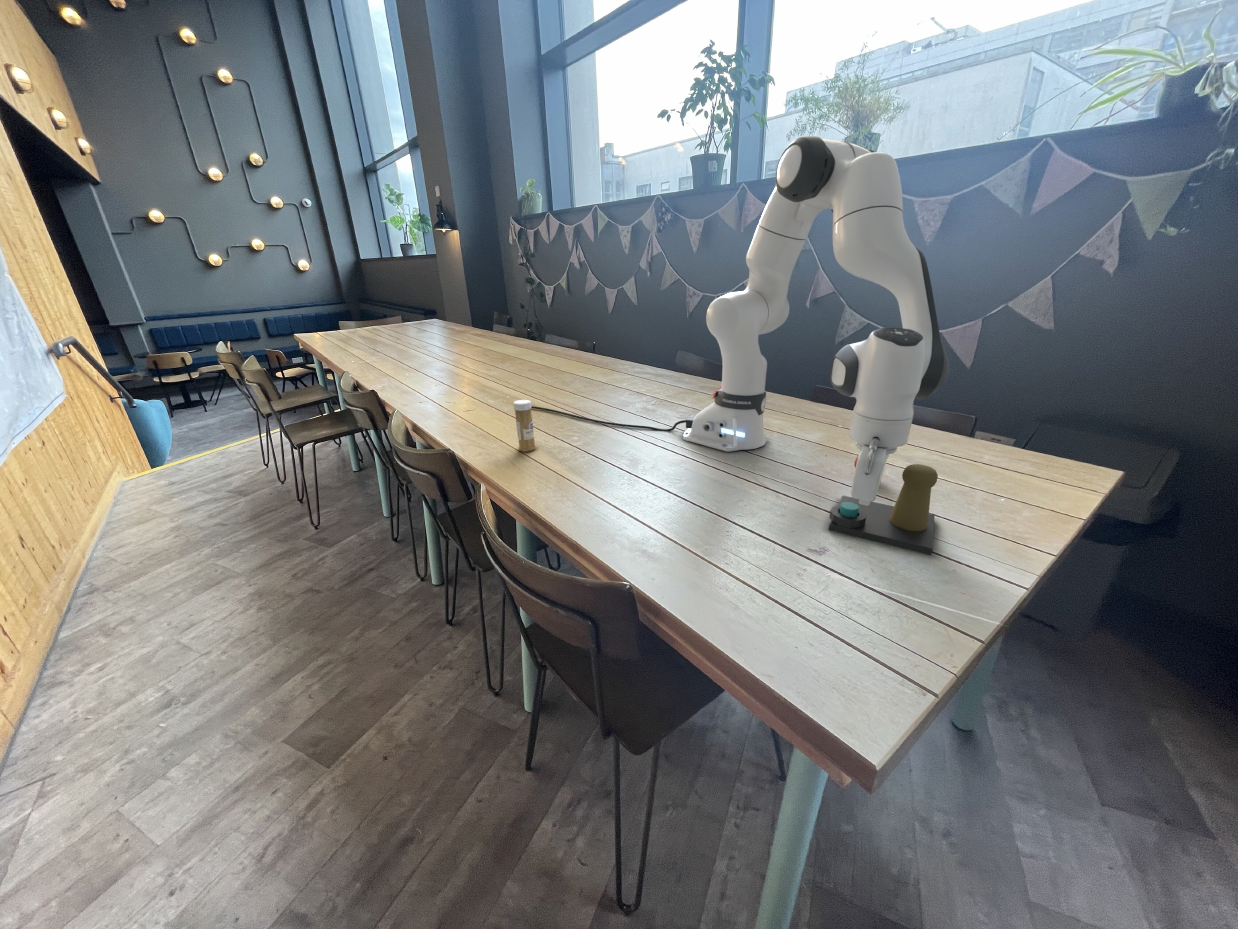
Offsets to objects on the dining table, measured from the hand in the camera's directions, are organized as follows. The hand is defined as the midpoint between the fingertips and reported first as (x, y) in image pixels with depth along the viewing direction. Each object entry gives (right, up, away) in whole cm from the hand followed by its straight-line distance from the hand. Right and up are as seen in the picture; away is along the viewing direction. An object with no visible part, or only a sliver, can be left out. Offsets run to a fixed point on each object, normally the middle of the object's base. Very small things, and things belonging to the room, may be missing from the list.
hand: (864, 501), depth 84 cm
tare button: (-2, -2, +2) cm, 4 cm away
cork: (+8, -4, +1) cm, 9 cm away
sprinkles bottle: (-69, +11, +44) cm, 83 cm away
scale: (+4, -5, +3) cm, 7 cm away
